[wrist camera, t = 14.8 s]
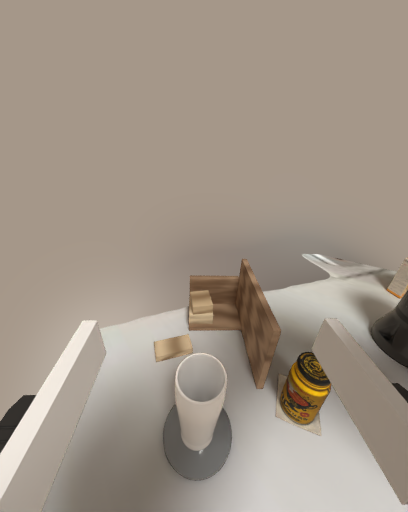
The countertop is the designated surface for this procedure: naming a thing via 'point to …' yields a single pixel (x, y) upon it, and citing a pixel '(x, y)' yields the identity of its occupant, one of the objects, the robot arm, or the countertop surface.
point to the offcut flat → (173, 347)
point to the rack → (242, 315)
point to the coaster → (197, 462)
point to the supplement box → (400, 281)
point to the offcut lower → (199, 317)
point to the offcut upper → (201, 302)
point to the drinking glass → (199, 398)
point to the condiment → (303, 393)
